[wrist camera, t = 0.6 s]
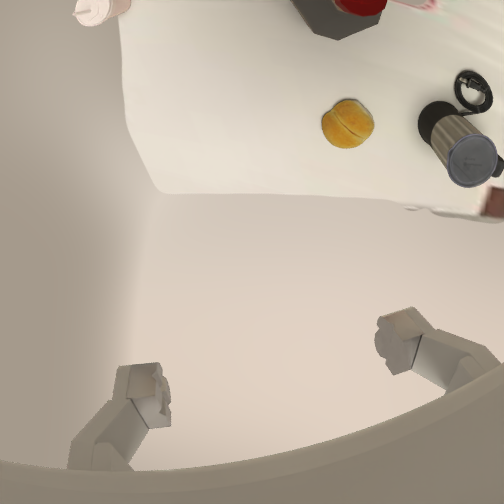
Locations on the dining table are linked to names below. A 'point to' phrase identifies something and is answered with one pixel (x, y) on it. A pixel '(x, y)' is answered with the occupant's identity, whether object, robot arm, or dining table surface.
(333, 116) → the bread roll
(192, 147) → the dining table surface
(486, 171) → the milk frother
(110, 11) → the smoothie
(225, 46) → the dining table surface
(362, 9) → the liquor
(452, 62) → the dining table surface
